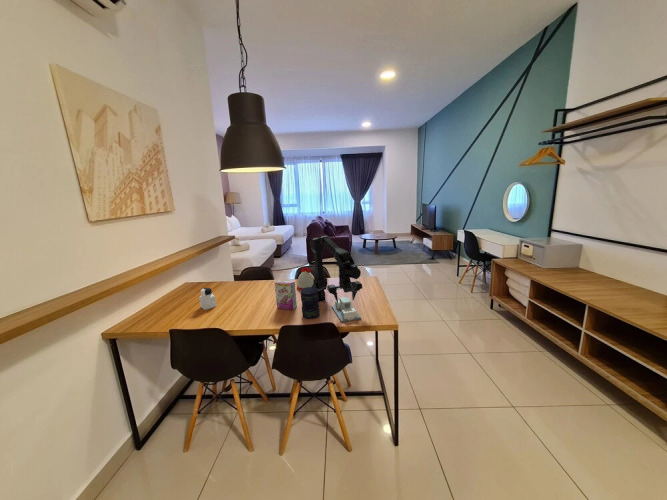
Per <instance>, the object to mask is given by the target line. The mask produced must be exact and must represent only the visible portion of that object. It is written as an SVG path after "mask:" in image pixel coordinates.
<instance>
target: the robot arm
mask: <svg viewBox="0 0 667 500" xmlns="http://www.w3.org/2000/svg"><path fill="white" fill-rule="evenodd" d="M309 246H310V250H311V251H312V252H313V261H314V273H315V275H314V280H313V285H312V287H315V288H317V289H318V294H319V299H318V302H322V301H324V302H325V301H326V291H325V290H327V292H328V293H329V294H332V295H333V297H334V299H335V300H336V302H337V303H338V300H339V299H338V292H337V291H338V290H343V292H344V293H350V292H351V299H352V301H355V298H356V295H357V292H359V291H361V290H362V289H363V284H362V283H361V282H360V280H358V279H359V278H360V276H361V270H360V269H359V268H358V265H355V264H356V263H355V261H354V259H353V257H352V255H351V253H350V252H349V251H347V250H346V249H345V248H342V247H339V246H338V245H337V244H336V243H335V242H334V241H333V240H332V239H330V237H329V236H328V235H324V236H322V235H321V236H320V237H315V238H312V239H311V240H310V241H309ZM325 248H327V250H328V251H329V252H331V254H332V255H333V256H334V260H335V261H336V262H337V263H336V265H335V266H336V267H338V279H339V280H338V281H339V282H338V285H335V284H334V283H333V284H328V278H327V277H326V276H325V275H324V264H323V263H324V262H323V252H324V249H325ZM351 279H354V280H355V281H352V280H351Z"/></svg>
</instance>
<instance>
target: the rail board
mask: <svg viewBox="0 0 667 500" xmlns="http://www.w3.org/2000/svg"><path fill="white" fill-rule="evenodd" d="M334 301H335V302H334V303H335V304H334V305H331V309H332V311H333V312H334V314H335V315H336V317H337V318H338V320H339V321H340V323H343V324H344V323H347V322H355V321H359V319H360V320H362V317H361V316H360V314H359V313H358V312H357V310H356V309H355V307H354V306H353V305H351V309H345V310H342V311H341V310H340V299H338V303H337V302H336V299H335V300H334Z"/></svg>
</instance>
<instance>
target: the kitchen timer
mask: <svg viewBox="0 0 667 500" xmlns="http://www.w3.org/2000/svg"><path fill="white" fill-rule="evenodd" d="M300 272H301V273H300V274H299V276H298V278H297V281H296V282H297V283H296V289H298V290H300V291H301V289H303V288H306V287H312V285H313V280H314V278H315V275H313V274H312V273H311V269H310V267H307V266H306V267H305V266H303V267H302V268H301V269H300Z"/></svg>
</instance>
